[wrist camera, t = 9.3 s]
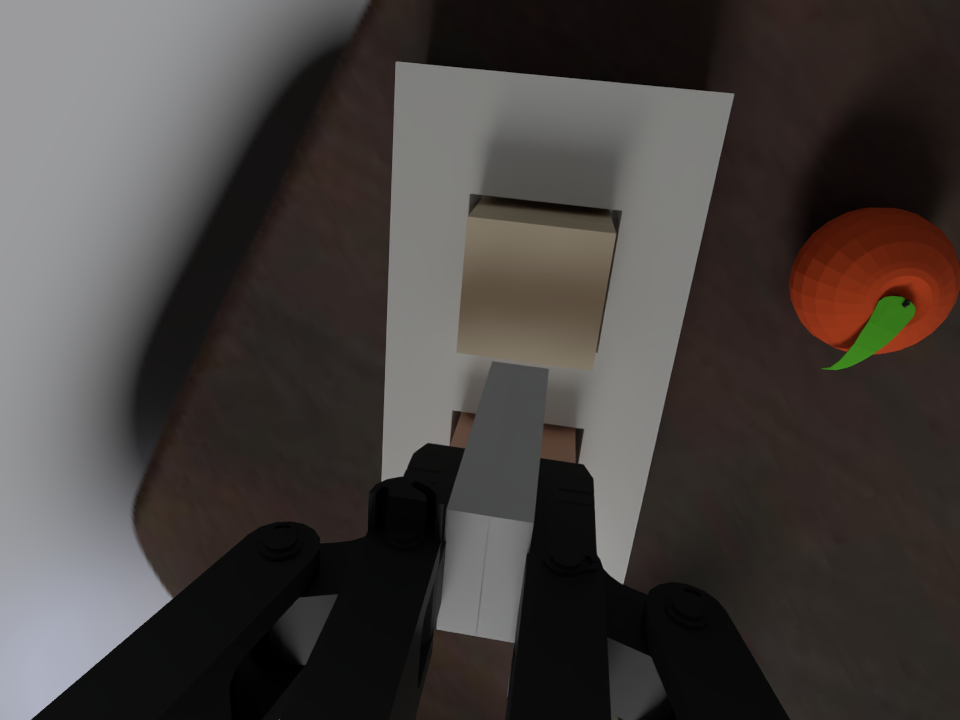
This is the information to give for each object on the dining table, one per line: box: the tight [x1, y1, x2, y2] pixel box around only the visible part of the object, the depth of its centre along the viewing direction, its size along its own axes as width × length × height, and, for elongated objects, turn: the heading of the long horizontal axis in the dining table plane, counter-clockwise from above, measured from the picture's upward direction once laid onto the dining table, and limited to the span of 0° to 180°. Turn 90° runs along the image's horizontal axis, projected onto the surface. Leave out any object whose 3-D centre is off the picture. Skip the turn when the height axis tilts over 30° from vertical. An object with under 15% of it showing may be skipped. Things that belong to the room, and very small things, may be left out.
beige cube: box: [456, 195, 616, 371], centre depth 30 cm, size 6×6×6 cm
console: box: [382, 62, 734, 584], centre depth 35 cm, size 28×14×6 cm, turn 175°
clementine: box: [789, 207, 960, 370], centre depth 31 cm, size 8×7×7 cm
